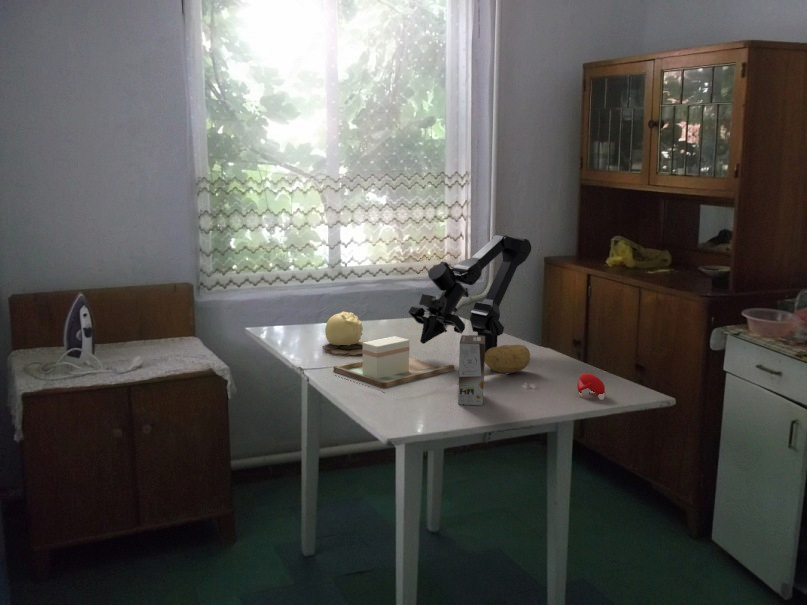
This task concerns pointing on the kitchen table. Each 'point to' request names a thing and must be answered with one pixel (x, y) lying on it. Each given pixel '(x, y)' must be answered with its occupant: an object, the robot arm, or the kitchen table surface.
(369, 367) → the cream block
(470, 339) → the coffee box
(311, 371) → the kitchen table surface
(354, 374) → the tray
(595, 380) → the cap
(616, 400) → the kitchen table surface
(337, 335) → the sculpture
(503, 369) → the potato
